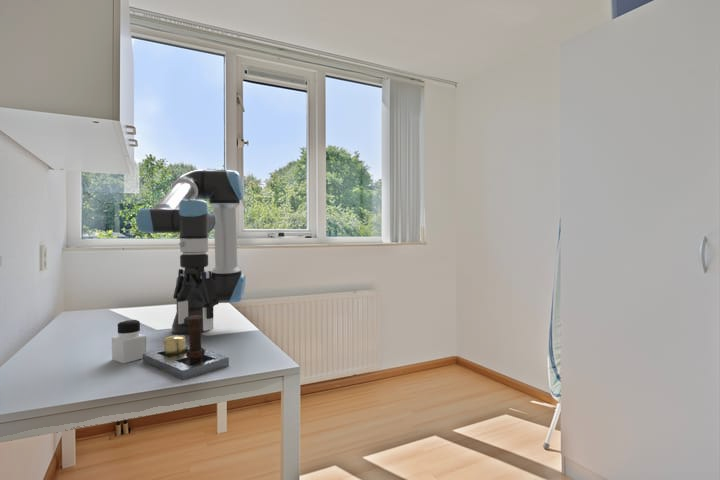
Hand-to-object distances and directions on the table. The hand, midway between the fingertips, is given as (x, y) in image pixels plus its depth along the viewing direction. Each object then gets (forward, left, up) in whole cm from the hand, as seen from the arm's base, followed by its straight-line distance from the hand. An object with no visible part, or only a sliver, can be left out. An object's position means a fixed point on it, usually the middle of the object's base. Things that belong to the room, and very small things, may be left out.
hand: (195, 326), depth 116 cm
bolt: (0, 0, -12) cm, 12 cm away
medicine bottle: (-25, -8, -12) cm, 29 cm away
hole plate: (-6, 0, -12) cm, 14 cm away
